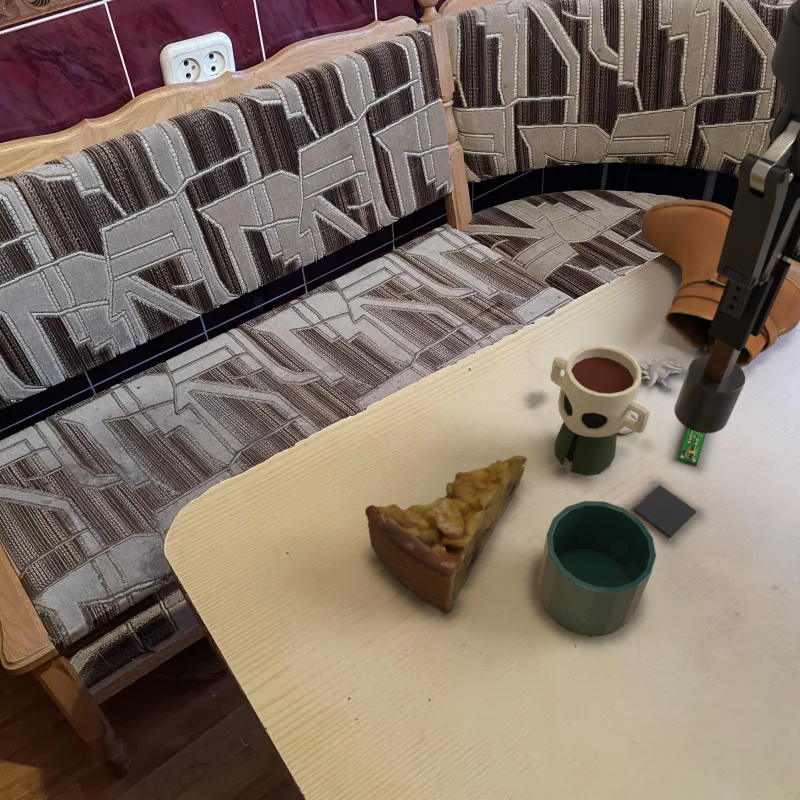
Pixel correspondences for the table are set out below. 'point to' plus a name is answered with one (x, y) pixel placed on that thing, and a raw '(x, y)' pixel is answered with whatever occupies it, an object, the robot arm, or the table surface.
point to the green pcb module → (691, 447)
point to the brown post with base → (713, 385)
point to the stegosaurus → (659, 371)
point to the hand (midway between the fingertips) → (734, 332)
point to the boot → (710, 274)
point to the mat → (664, 511)
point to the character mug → (596, 405)
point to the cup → (594, 567)
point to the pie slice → (444, 531)
